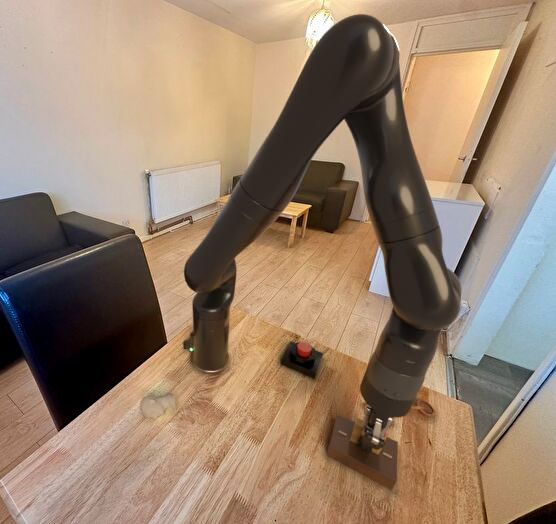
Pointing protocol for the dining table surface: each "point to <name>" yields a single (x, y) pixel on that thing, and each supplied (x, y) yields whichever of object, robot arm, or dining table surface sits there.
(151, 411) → the pale grey lumpy piece
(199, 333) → the robot arm
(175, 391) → the dining table surface
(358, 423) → the lock knob
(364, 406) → the key
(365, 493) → the dining table surface
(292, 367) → the alarm box
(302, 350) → the alarm button
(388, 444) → the lock plate
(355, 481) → the dining table surface
